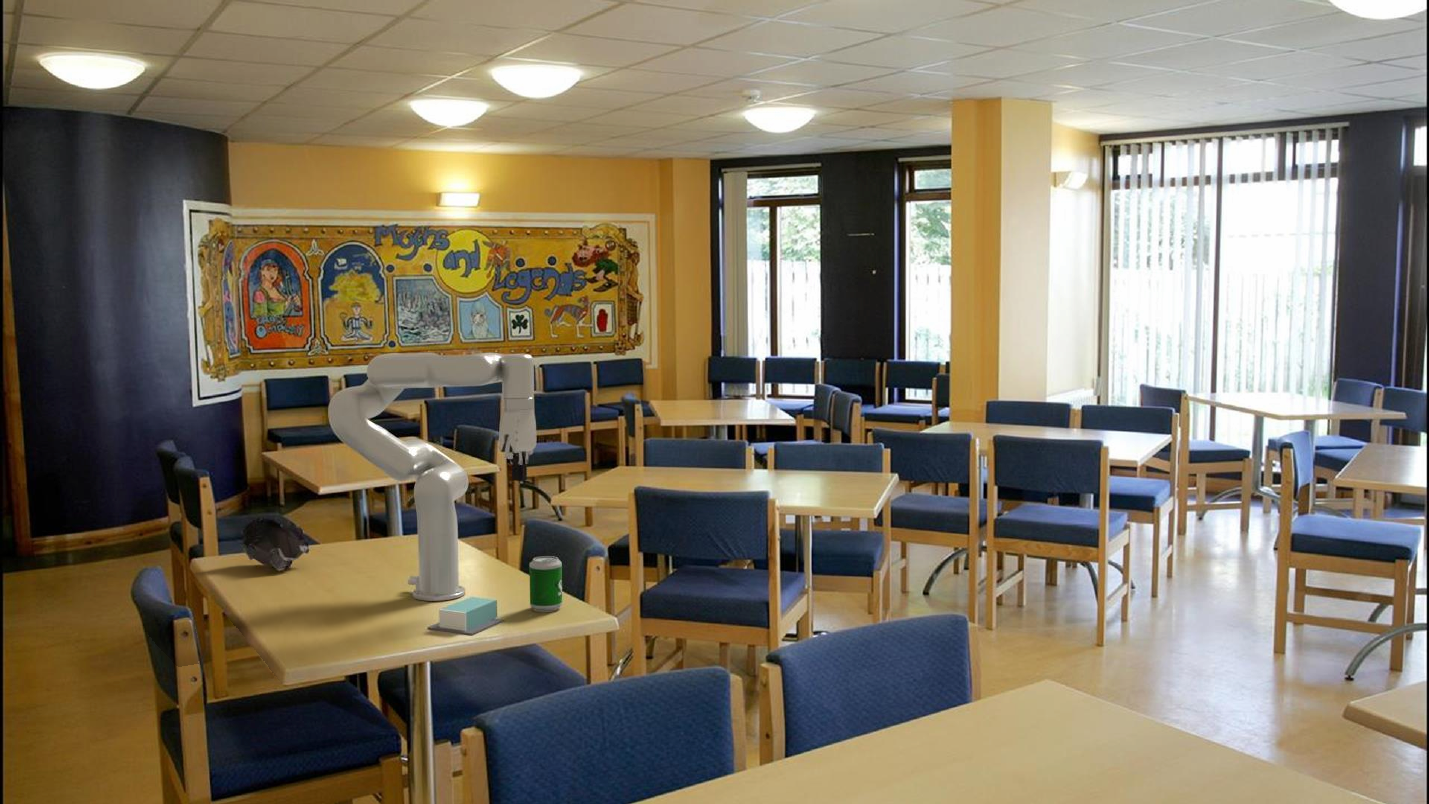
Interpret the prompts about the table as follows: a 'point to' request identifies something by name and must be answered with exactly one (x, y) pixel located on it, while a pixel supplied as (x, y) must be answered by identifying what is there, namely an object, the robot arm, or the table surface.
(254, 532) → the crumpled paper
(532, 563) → the soda can
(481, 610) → the teal block
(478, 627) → the rubber mat
